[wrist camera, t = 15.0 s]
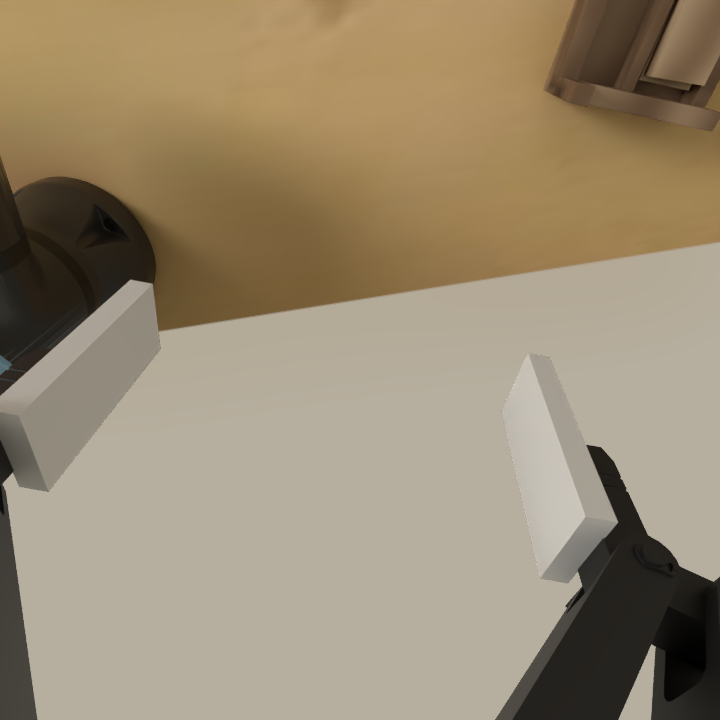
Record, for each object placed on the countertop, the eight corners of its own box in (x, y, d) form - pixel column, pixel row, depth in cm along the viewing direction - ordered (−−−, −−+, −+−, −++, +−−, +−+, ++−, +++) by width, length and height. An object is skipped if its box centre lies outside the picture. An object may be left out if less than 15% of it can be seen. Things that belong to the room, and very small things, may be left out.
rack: (543, 89, 38) (570, 103, 31) (617, -117, 31) (672, -157, 24) (674, 118, 38) (728, 137, 31) (778, -80, 31) (876, -110, 24)
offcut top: (643, 75, 34) (651, 76, 33) (705, -71, 29) (718, -75, 28) (694, 83, 34) (704, 85, 33) (765, -61, 29) (779, -65, 28)
